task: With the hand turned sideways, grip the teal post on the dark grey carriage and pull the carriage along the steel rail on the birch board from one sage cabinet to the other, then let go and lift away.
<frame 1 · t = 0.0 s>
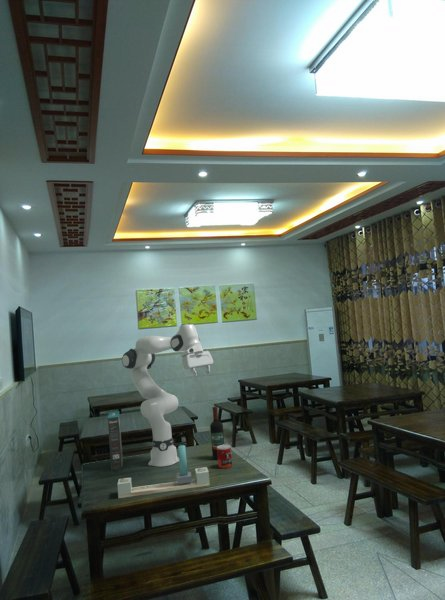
hand: (202, 374, 245), 52 cm above the table, tool tilted 20°, fingers open, 8 cm apart
wine bottle: (219, 458, 266), on the table
canned food: (225, 466, 250), on the table
cake mix box: (117, 465, 271), on the table
carriage: (183, 463, 225), point 11 cm above the table, slide at 0.0 cm
rail board: (164, 488, 223), on the table
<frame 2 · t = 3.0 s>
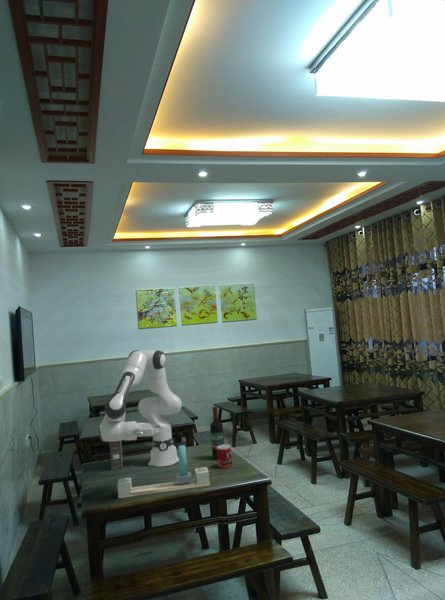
hand: (161, 428, 225), 29 cm above the table, tool horizontal, fingers open, 8 cm apart
nothing on the table moved.
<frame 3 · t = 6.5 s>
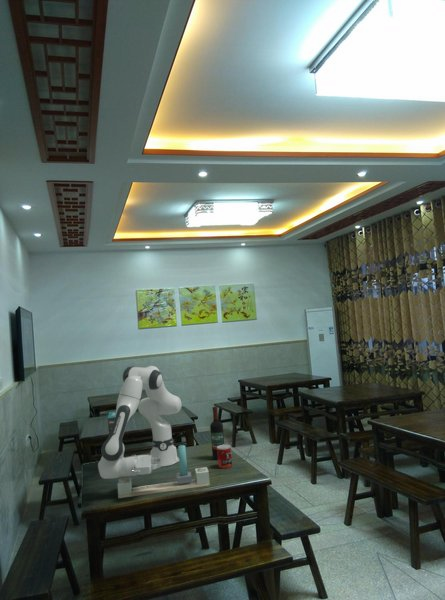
hand: (160, 462, 223), 13 cm above the table, tool horizontal, fingers open, 8 cm apart
nothing on the table moved.
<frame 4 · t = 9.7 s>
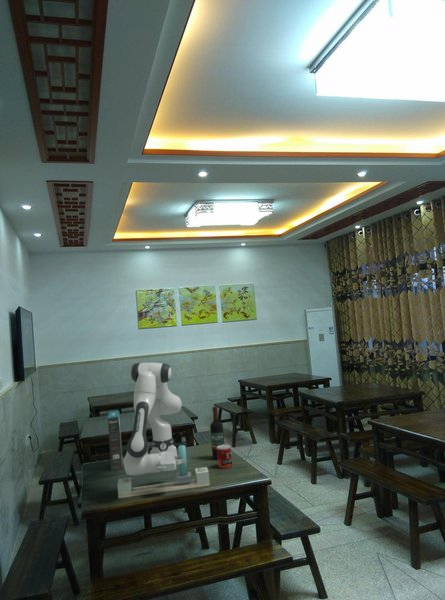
hand: (184, 459, 225), 13 cm above the table, tool horizontal, fingers closed on carriage, 4 cm apart
carriage: (183, 463, 225), point 11 cm above the table, slide at 0.0 cm, touching gripper
everything else where it was.
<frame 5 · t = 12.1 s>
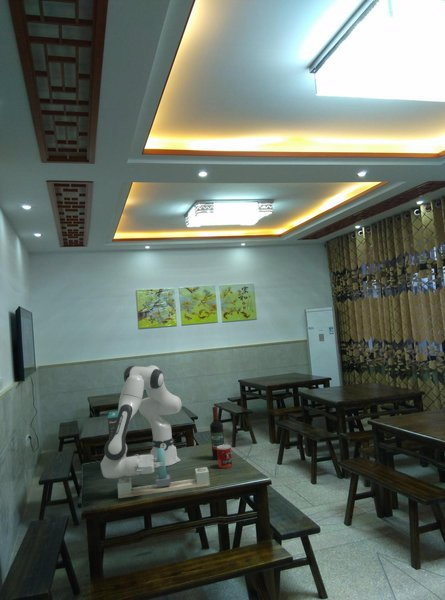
hand: (163, 461, 223), 13 cm above the table, tool horizontal, fingers closed on carriage, 4 cm apart
carriage: (161, 466, 223), point 11 cm above the table, slide at 10.5 cm, touching gripper
everything else where it was.
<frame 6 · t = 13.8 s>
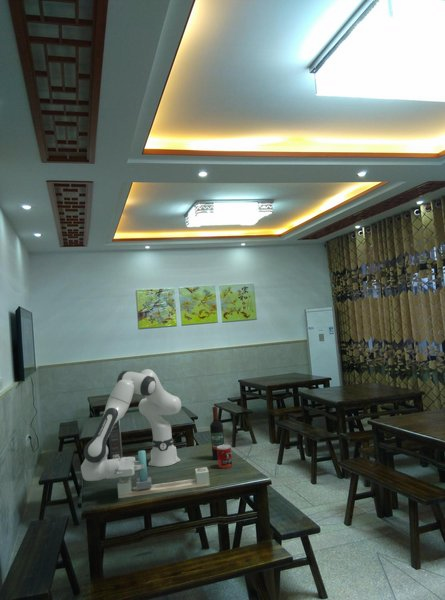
hand: (144, 464, 222), 13 cm above the table, tool horizontal, fingers closed on carriage, 4 cm apart
carriage: (142, 468, 222), point 11 cm above the table, slide at 19.7 cm, touching gripper
everything else where it was.
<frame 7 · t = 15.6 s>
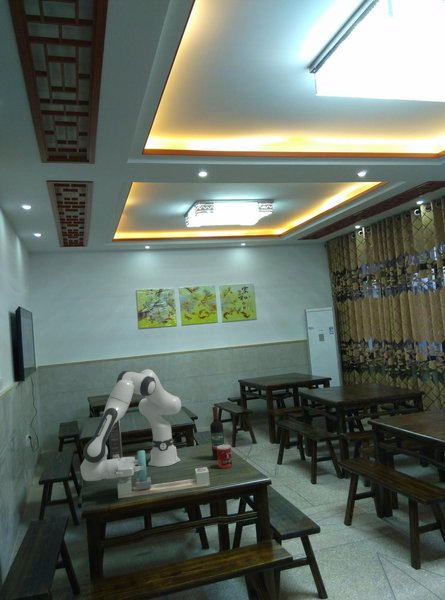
hand: (143, 464, 222), 13 cm above the table, tool horizontal, fingers open, 8 cm apart
carriage: (142, 468, 222), point 11 cm above the table, slide at 20.0 cm
everything else where it was.
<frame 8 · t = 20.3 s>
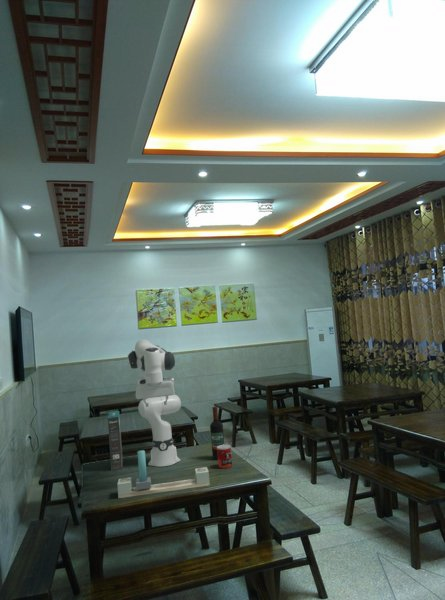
hand: (156, 405, 235), 39 cm above the table, tool pointing down, fingers open, 8 cm apart
nothing on the table moved.
at the end: carriage slide at 20.0 cm; the gripper is holding nothing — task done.
